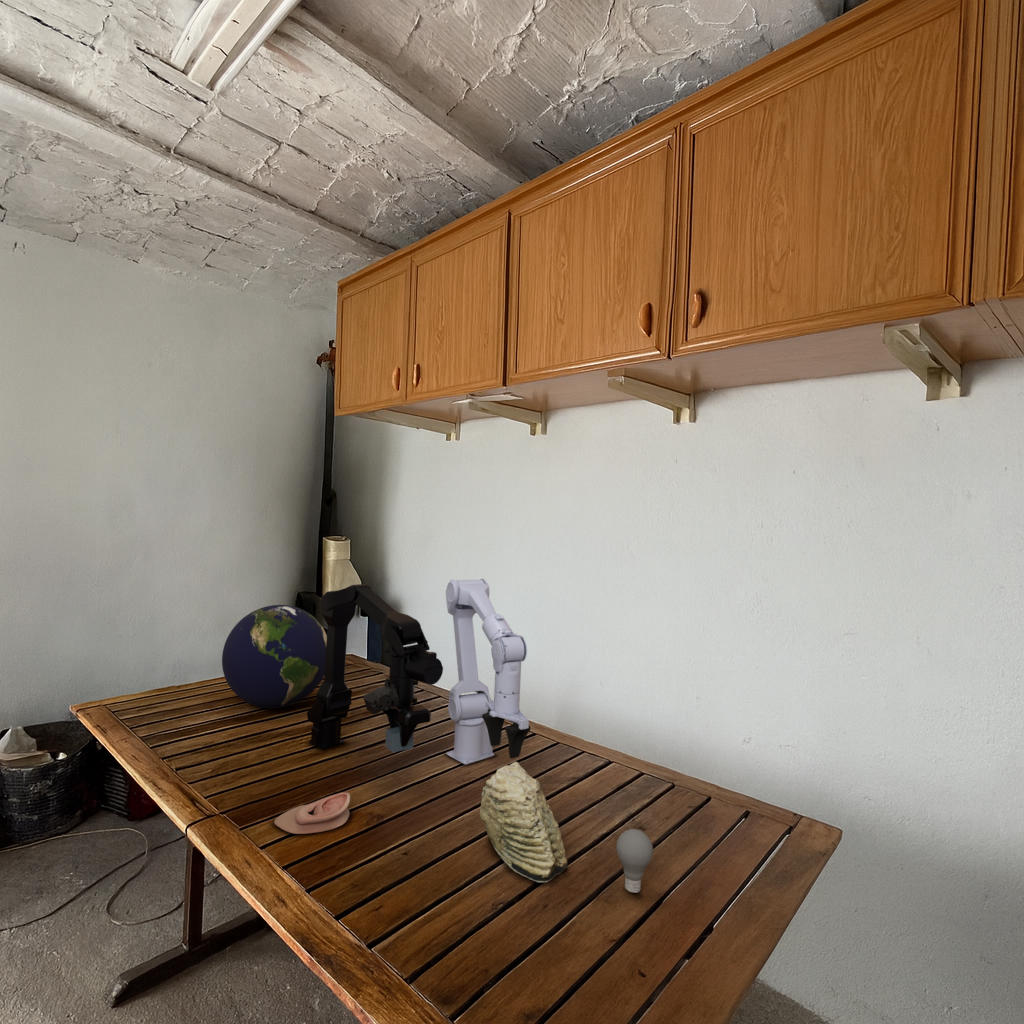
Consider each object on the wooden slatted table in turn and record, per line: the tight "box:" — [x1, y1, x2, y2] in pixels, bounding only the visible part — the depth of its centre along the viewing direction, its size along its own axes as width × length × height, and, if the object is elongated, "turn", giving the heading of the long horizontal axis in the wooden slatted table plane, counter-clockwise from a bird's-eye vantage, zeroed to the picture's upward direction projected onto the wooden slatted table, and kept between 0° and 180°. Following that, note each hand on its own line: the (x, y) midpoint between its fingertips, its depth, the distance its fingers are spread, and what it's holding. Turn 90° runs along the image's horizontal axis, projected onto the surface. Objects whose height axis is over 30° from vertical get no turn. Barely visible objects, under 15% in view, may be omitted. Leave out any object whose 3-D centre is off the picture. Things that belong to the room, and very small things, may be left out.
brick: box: [384, 727, 415, 753], centre depth 144 cm, size 4×5×4 cm
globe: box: [221, 604, 327, 709], centre depth 188 cm, size 30×30×30 cm
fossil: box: [479, 761, 569, 883], centre depth 114 cm, size 9×18×15 cm, turn 46°
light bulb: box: [615, 828, 654, 894], centre depth 106 cm, size 6×6×10 cm
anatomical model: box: [274, 791, 351, 835], centre depth 124 cm, size 13×4×12 cm
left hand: (399, 742), depth 144 cm, fingers closed on brick, 4 cm apart
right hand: (504, 751), depth 141 cm, fingers open, 7 cm apart
